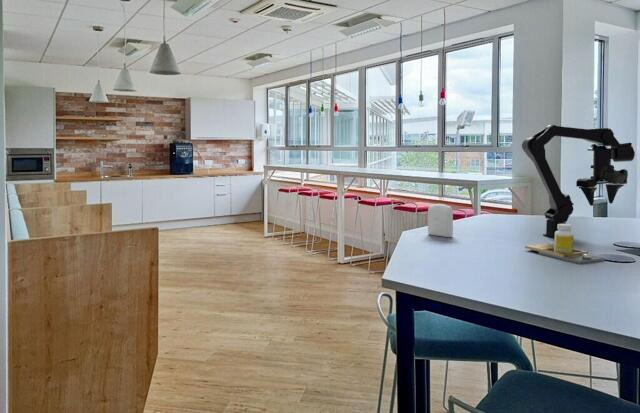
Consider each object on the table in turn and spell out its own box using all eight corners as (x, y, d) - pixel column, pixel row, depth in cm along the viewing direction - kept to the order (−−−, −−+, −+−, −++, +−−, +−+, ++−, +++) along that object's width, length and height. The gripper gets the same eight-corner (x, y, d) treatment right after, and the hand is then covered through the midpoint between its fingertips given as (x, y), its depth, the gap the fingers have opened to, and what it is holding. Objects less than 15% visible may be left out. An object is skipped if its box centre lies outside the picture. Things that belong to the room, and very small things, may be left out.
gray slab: (604, 260, 159) (604, 254, 159) (579, 264, 155) (579, 257, 155) (548, 247, 179) (548, 241, 179) (525, 250, 175) (525, 244, 175)
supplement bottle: (575, 257, 165) (577, 225, 163) (558, 257, 165) (559, 226, 163) (567, 253, 170) (569, 223, 169) (550, 253, 170) (551, 223, 169)
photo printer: (426, 234, 208) (426, 203, 207) (433, 233, 211) (433, 202, 209) (447, 238, 200) (447, 205, 199) (454, 236, 203) (454, 204, 201)
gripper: (600, 164, 185) (599, 209, 187) (640, 161, 191) (639, 204, 193) (575, 163, 196) (574, 205, 198) (614, 160, 201) (613, 201, 203)
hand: (601, 204), depth 198 cm, fingers open, 9 cm apart
